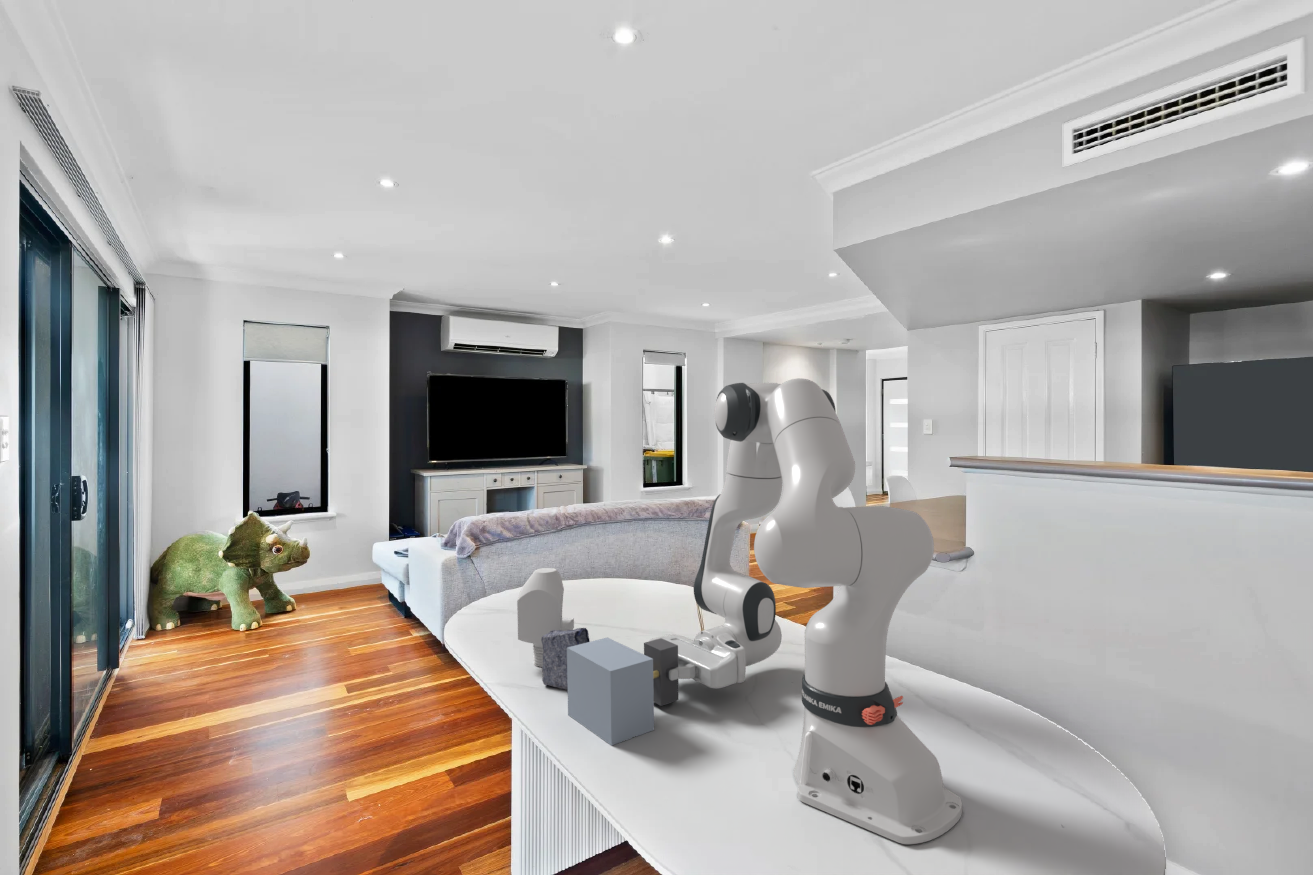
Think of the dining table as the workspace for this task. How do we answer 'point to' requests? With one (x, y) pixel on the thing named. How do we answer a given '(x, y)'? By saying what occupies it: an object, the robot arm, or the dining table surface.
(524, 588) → the light fixture
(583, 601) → the dining table surface
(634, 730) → the socket
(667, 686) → the plug
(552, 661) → the stone
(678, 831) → the dining table surface
